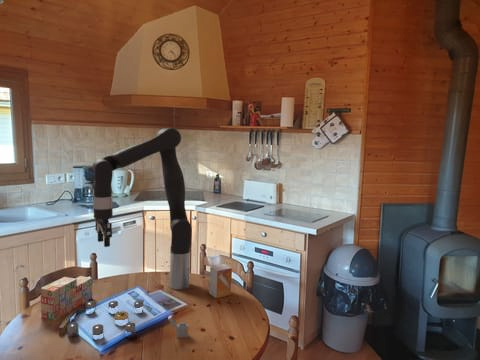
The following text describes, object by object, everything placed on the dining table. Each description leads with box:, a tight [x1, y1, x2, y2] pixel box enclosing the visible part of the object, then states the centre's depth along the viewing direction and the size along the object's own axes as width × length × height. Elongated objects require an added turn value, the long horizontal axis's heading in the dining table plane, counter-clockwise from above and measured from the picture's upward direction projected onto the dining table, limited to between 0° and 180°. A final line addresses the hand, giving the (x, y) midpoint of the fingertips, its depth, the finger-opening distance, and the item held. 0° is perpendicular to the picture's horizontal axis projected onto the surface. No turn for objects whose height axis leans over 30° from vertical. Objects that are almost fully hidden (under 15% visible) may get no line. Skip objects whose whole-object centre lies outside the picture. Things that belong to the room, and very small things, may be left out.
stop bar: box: [58, 307, 78, 335], centre depth 140 cm, size 2×15×2 cm, turn 6°
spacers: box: [66, 300, 144, 339], centre depth 141 cm, size 24×22×4 cm
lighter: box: [167, 314, 189, 339], centre depth 134 cm, size 7×2×8 cm, turn 100°
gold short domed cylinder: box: [114, 311, 129, 321], centre depth 142 cm, size 5×5×4 cm
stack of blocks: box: [40, 275, 93, 321], centre depth 152 cm, size 21×6×12 cm, turn 161°
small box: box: [208, 263, 233, 299], centre depth 170 cm, size 8×6×13 cm
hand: (103, 243), depth 159 cm, fingers open, 8 cm apart
